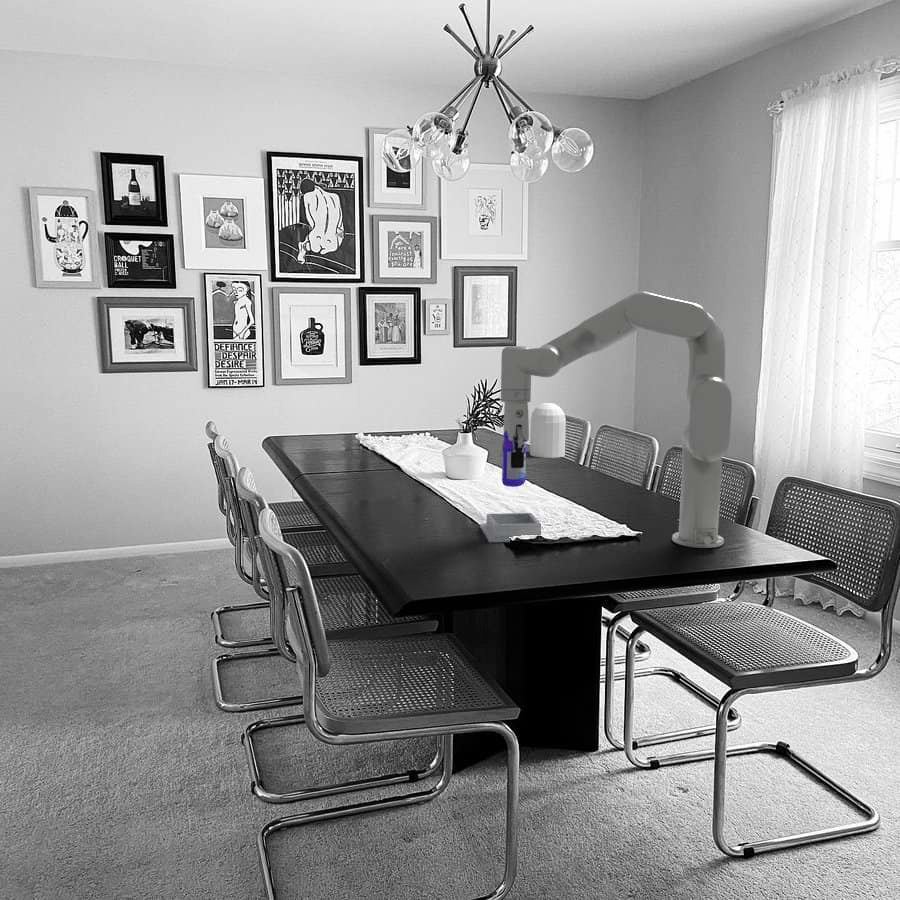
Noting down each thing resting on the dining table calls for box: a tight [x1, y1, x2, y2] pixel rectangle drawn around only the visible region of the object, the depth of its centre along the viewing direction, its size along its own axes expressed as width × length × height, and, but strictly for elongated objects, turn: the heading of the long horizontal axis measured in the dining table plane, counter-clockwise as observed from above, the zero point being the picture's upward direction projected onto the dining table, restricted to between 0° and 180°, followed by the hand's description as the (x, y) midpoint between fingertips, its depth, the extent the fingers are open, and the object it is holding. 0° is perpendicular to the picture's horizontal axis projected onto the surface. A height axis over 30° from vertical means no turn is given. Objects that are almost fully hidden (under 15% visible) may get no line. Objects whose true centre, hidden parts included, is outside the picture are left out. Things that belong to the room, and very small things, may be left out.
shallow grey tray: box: [479, 512, 542, 543], centre depth 239 cm, size 15×15×4 cm
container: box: [529, 402, 567, 459], centre depth 352 cm, size 14×13×20 cm
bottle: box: [501, 430, 527, 488], centre depth 236 cm, size 7×6×17 cm
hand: (514, 464), depth 236 cm, fingers closed on bottle, 7 cm apart
